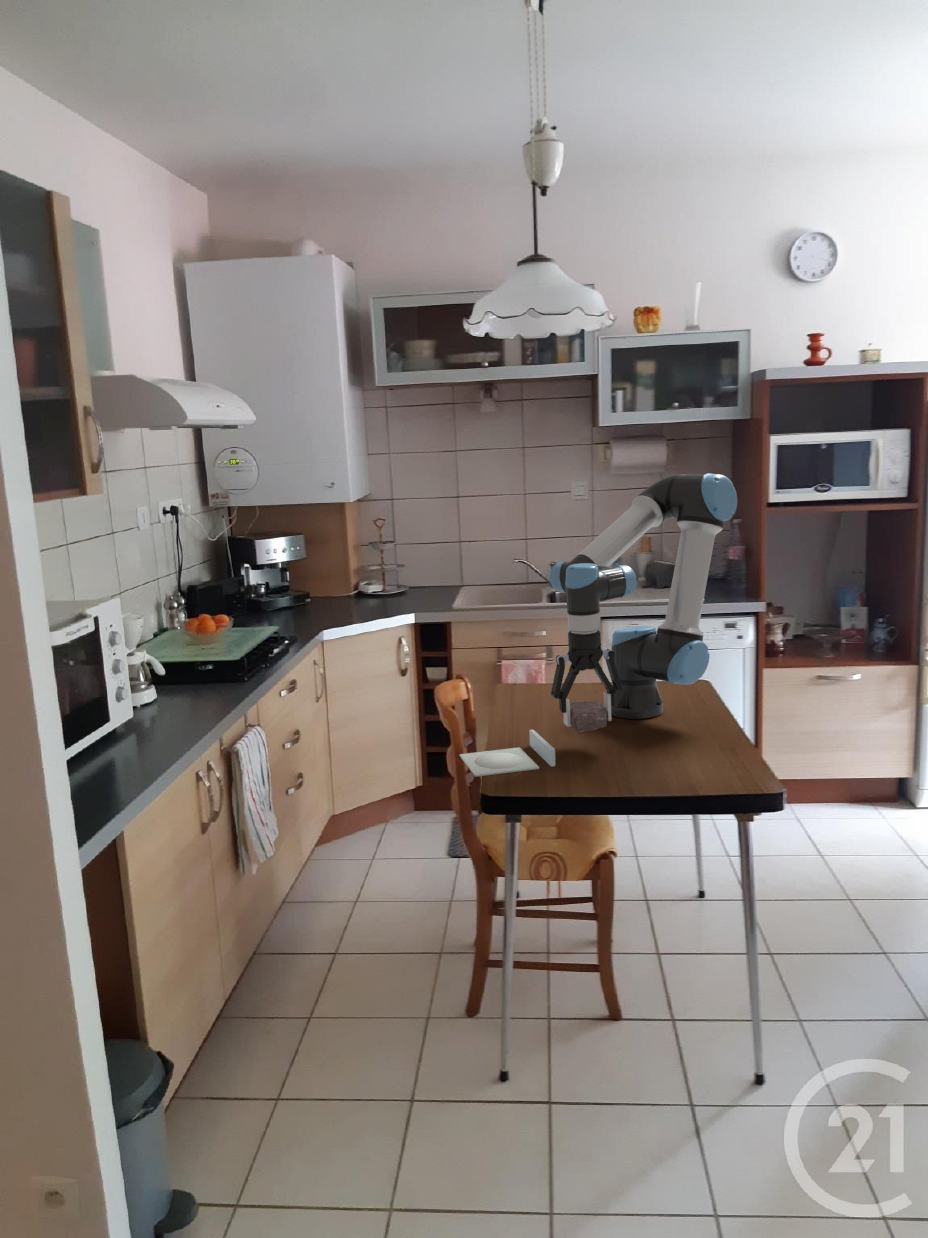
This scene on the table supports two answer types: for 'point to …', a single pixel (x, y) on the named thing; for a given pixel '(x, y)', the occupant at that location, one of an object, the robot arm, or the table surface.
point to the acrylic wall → (542, 747)
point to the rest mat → (498, 761)
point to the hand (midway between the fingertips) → (587, 722)
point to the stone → (587, 715)
